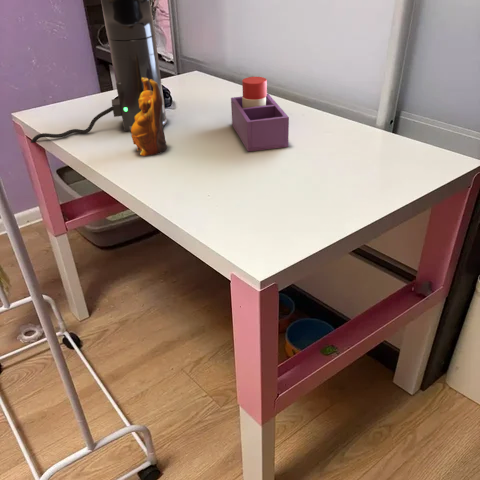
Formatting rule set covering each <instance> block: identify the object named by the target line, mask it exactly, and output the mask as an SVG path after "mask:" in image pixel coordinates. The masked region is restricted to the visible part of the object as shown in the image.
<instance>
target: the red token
mask: <svg viewBox="0 0 480 480" xmlns="http://www.w3.org/2000/svg"><path fill="white" fill-rule="evenodd" d="M267 83H268V80H267V78H265V77H262V76H249V77H248V76H247V77H245V78H243V79H242V80H241V85H242V96H243V97H244V98H245V99H250V100H257V99H262V98H265V97H266V96H267V94H268V89H267V88H268V85H267Z"/></svg>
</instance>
